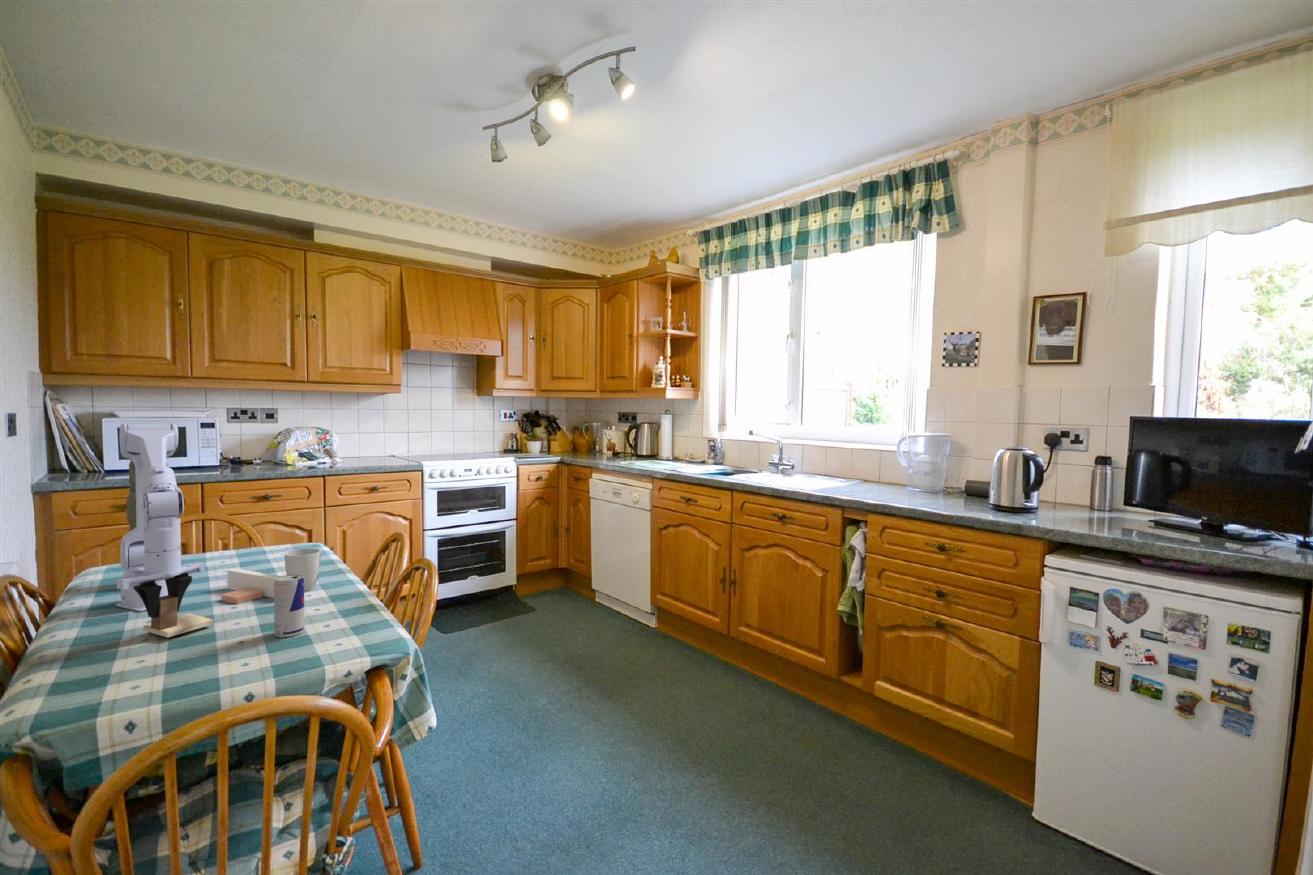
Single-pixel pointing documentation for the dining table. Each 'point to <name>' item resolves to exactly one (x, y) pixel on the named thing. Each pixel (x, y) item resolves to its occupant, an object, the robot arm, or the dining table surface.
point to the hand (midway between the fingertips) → (163, 614)
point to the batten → (251, 581)
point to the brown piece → (174, 619)
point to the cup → (304, 565)
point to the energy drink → (289, 605)
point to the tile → (241, 595)
